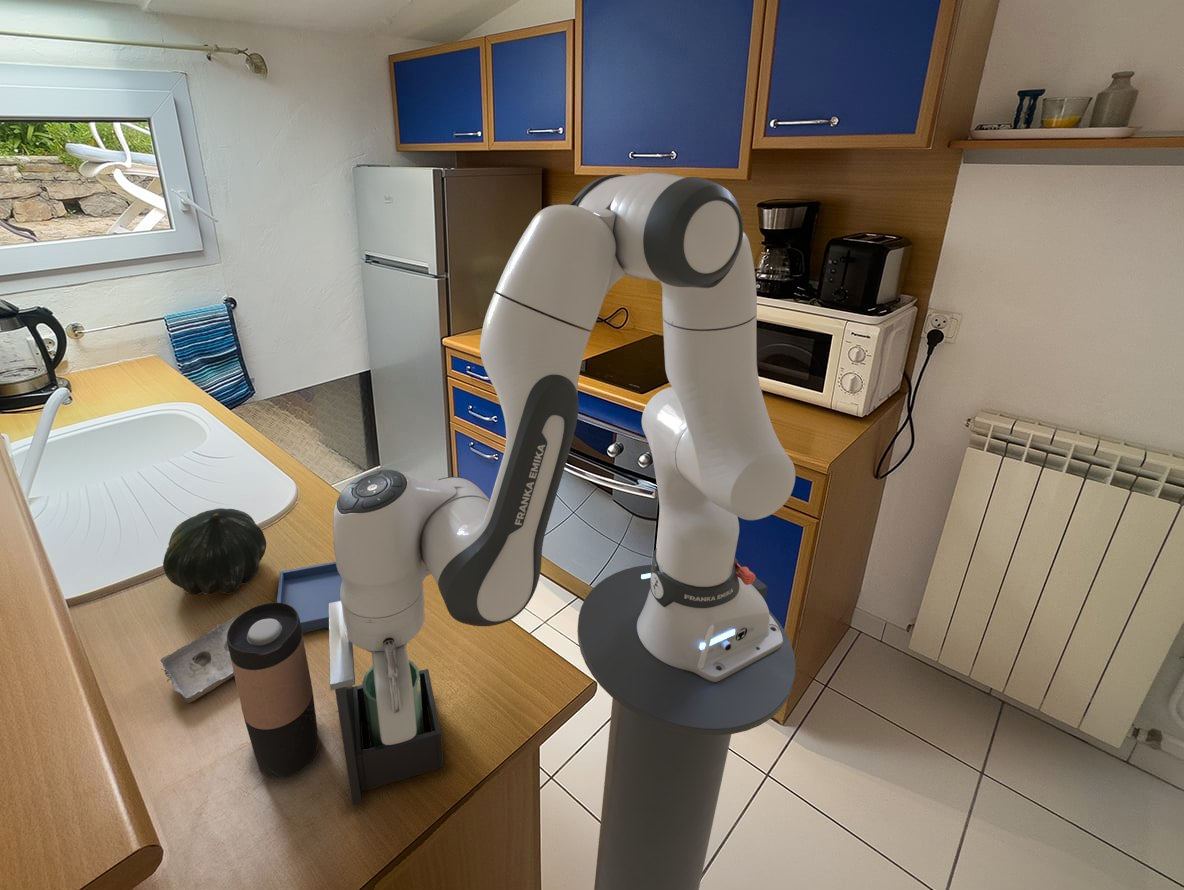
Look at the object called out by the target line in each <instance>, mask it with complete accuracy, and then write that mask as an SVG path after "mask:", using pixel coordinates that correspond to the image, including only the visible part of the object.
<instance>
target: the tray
mask: <svg viewBox="0 0 1184 890" xmlns="http://www.w3.org/2000/svg"><path fill="white" fill-rule="evenodd" d="M278 575H279V576H278V586H277V594H276V595H277V596H276V602H279V603H285V604H288V605H290V606H292V607H293V608H294V609H295V610H296V611H297V613H298V615H299V619H300V624H301V629H302V634H304V633H309V632H313V631H318V630H322V629H329V603H332V602H337V601H341V598H340V589H341V584H342V578H341V576H340V574H339V572H338V570H337V567H336V560H334V561H331V562H325V563H320V564H319V563H318V564H313V565H308V566H302V567H297V568H291V569H286V570H281V571H279V574H278Z"/></svg>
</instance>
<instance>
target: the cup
mask: <svg viewBox="0 0 1184 890" xmlns="http://www.w3.org/2000/svg"><path fill="white" fill-rule="evenodd" d="M408 660H409V666H410V672H411V678H412V686H413V695H414V705H415V715H416V727H417V731H416V735H415V736H417V735H421V734H424V733H425V730H424V729H425V728H424V716H423V707H422V701H421V687H420V675H419V671H420V670H419V668H418V667H417V665H416V664H415V662H413V661H412V660H410V659H408ZM362 685H363V692H364V700H365V708H366V716H367V722H366V724H367V732H368V739H369V748H373V747H376V746H380V745H384V744H383V743H382V741H381V737H380V728H379V719H378V710H377V701H376V691H375V681H374V671H373V665H372V666H371V667H370V668H369V669H368V670H367V671H366V672H365V675H364V677H363V680H362Z"/></svg>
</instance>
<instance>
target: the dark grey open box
mask: <svg viewBox="0 0 1184 890" xmlns="http://www.w3.org/2000/svg"><path fill="white" fill-rule="evenodd" d="M328 639H329V640H328V644H329V645H328V648H329V651H328V652H329V687H330V688H329V689H330V691H334V693H335V699H336V706H337V712H338V718H339V726H340V731H341V737H342V745H343V751H344V757H345V764H346V772H347V778H348V784H349V791H350V798H351V804H352V805H356V804H359V803H362V801H363V800H362V792H365V791H369V790H372V789H376V788H379V787H383V786H385V785H389V784H393V783H396V782H400V781H403V780H407V779H410V778H413V777H416V776H420V775H424V774H427V773H431V772H435V771H438V770H441V769H443V768H444V758H443V757H444V756H443V741H442V730H441V726H440V725H441V724H440V720H439V716H438V711H437V705H436V702H435V696H434V690H433V686H432V681H431V677H430V676H431V675H430V670H429V668H427V669H426V668H425V669H421V670H419V675H420V687H421V701H422V708H426V710H427V715H428V721H429V726H430V730H431V731H429V732H424V734H421V735H417V736H414V737H413V738H412V739H410V740H407V741H404V742H401V743H397V744H393V745H385V744H384V745H380V746H376V747H373V748H370V747H369V748H366V749H364V739H363V738H364V737H363V724H364V723H367V716H366V708H365V700H364V692H363V684H359V685H356V675H355V674H356V673H355V658H354V644H353V643H351V642H350V640H349V639H348V638H347V636H346V633H345V628H344V621H343V613H342V605H341V601H337V602H332V603H329V627H328ZM362 723H363V724H362Z"/></svg>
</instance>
